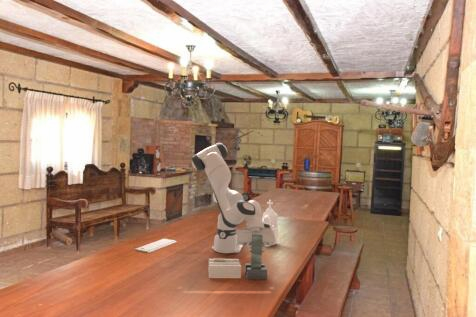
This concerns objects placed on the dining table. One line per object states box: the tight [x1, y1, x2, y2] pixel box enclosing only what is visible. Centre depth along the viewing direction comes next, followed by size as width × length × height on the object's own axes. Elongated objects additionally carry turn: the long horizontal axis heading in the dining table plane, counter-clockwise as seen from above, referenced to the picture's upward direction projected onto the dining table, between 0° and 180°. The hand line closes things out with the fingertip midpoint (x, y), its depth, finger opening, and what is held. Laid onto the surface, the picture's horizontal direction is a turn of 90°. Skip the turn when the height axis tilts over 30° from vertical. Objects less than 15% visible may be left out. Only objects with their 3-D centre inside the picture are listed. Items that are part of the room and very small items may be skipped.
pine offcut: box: [213, 257, 225, 262], centre depth 214 cm, size 3×5×7 cm, turn 96°
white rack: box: [207, 258, 242, 279], centre depth 212 cm, size 13×16×7 cm
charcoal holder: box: [244, 262, 268, 281], centre depth 210 cm, size 10×10×6 cm
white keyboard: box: [134, 238, 178, 254], centre depth 263 cm, size 31×3×12 cm
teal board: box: [250, 234, 263, 268], centre depth 210 cm, size 2×5×20 cm, turn 96°
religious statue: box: [262, 199, 279, 248], centre depth 277 cm, size 17×14×30 cm
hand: (256, 251), depth 209 cm, fingers closed on teal board, 5 cm apart
